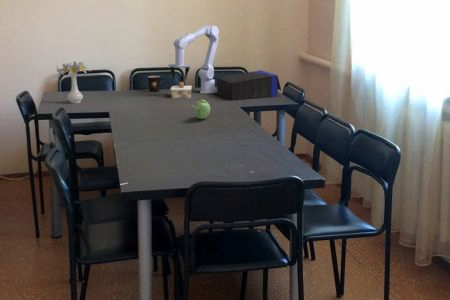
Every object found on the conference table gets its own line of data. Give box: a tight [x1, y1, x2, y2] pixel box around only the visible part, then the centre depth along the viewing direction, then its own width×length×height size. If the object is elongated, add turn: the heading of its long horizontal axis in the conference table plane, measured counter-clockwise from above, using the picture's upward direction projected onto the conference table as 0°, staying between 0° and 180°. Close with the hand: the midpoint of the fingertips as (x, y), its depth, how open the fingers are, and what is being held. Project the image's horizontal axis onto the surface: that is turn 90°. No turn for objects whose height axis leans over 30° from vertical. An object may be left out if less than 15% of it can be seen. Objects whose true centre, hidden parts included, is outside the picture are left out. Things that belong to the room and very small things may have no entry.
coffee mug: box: [147, 75, 167, 93], centre depth 390 cm, size 12×9×10 cm
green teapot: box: [190, 99, 211, 120], centre depth 308 cm, size 12×11×11 cm
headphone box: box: [216, 69, 282, 102], centre depth 375 cm, size 25×35×14 cm
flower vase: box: [55, 61, 88, 104], centre depth 352 cm, size 13×18×25 cm
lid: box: [170, 81, 193, 92], centre depth 372 cm, size 13×13×4 cm
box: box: [171, 89, 192, 99], centre depth 373 cm, size 12×12×5 cm
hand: (179, 79), depth 371 cm, fingers open, 7 cm apart
